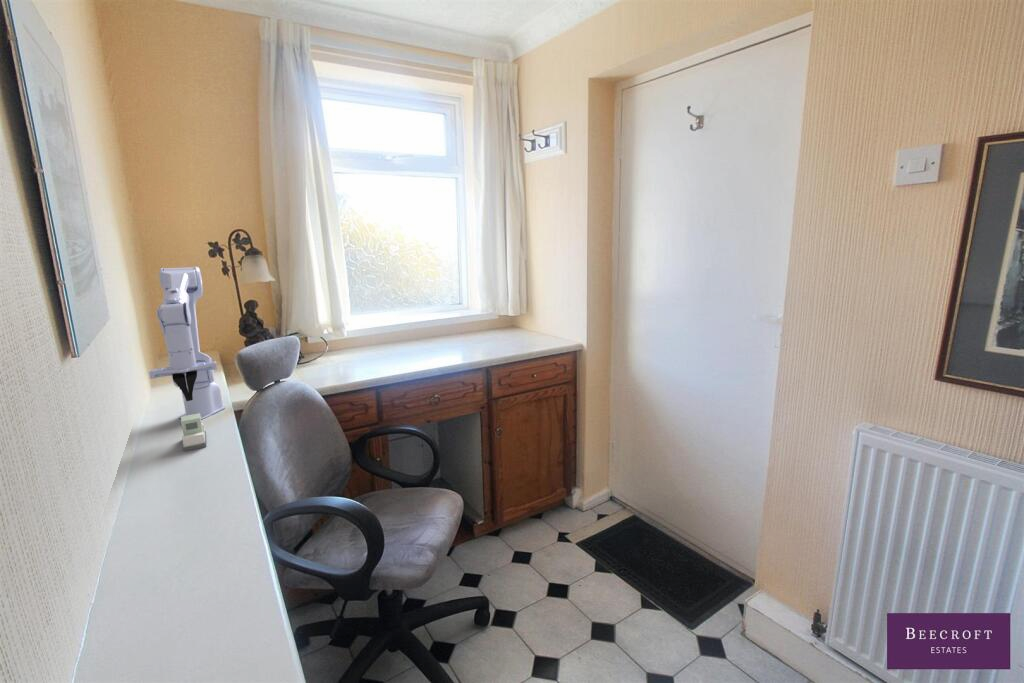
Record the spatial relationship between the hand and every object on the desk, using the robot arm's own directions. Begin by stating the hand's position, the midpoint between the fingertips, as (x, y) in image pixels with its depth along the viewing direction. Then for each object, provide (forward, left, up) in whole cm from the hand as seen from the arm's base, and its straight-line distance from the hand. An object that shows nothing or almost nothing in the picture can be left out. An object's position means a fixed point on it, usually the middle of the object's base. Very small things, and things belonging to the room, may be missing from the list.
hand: (189, 399), depth 127 cm
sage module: (+5, +5, -8) cm, 11 cm away
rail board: (+6, +5, -9) cm, 12 cm away
